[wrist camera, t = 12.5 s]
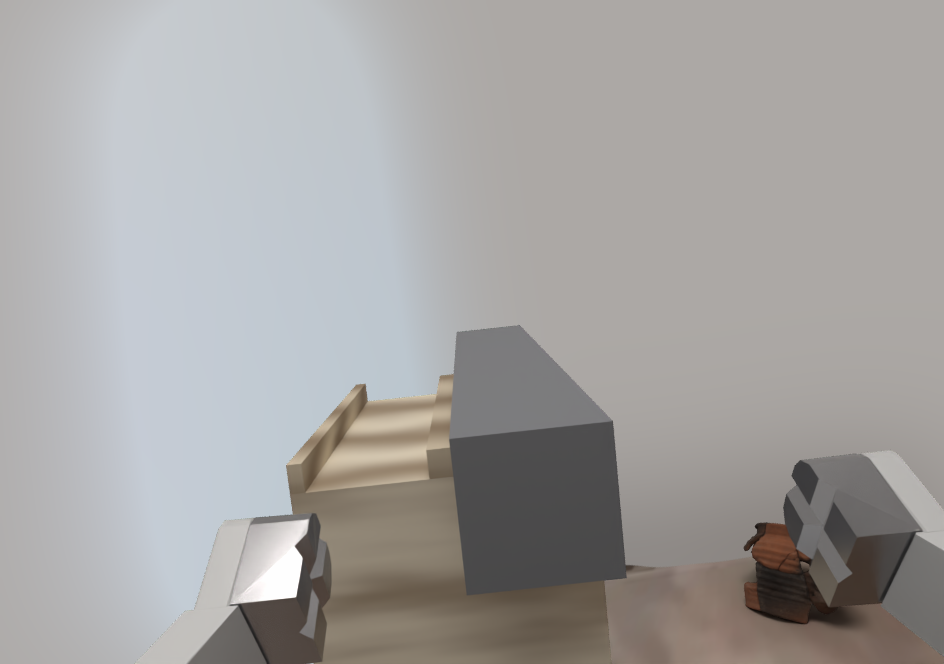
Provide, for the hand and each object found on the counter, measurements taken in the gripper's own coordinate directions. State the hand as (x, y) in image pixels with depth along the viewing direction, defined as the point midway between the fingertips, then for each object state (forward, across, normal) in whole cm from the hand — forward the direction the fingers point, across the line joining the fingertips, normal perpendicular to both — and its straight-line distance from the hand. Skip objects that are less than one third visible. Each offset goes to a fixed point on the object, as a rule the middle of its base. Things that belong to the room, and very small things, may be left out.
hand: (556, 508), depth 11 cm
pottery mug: (+26, -27, +50) cm, 63 cm away
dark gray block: (+14, 0, +12) cm, 18 cm away
